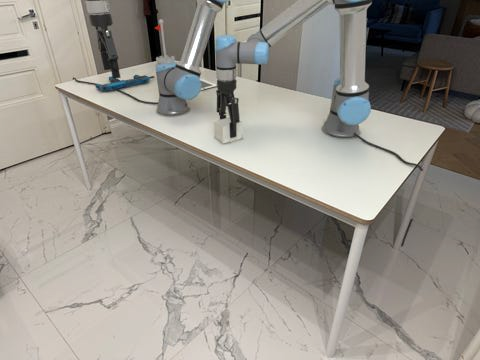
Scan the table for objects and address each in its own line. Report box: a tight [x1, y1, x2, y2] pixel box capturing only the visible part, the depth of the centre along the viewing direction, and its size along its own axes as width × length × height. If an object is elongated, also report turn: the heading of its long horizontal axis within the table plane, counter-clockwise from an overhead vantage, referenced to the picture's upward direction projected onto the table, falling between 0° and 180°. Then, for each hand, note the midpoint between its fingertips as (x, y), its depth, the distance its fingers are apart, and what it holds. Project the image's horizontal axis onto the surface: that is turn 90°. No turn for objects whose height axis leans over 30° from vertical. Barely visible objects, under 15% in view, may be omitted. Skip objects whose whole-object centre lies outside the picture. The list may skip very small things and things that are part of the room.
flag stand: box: [154, 18, 176, 65], centre depth 234 cm, size 13×13×30 cm
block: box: [213, 116, 243, 144], centre depth 141 cm, size 8×9×7 cm
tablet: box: [199, 77, 217, 91], centre depth 207 cm, size 32×20×1 cm, turn 41°
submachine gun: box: [95, 74, 155, 92], centre depth 206 cm, size 34×4×25 cm
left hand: (112, 73), depth 132 cm, fingers open, 13 cm apart
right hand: (228, 133), depth 142 cm, fingers closed on block, 7 cm apart
